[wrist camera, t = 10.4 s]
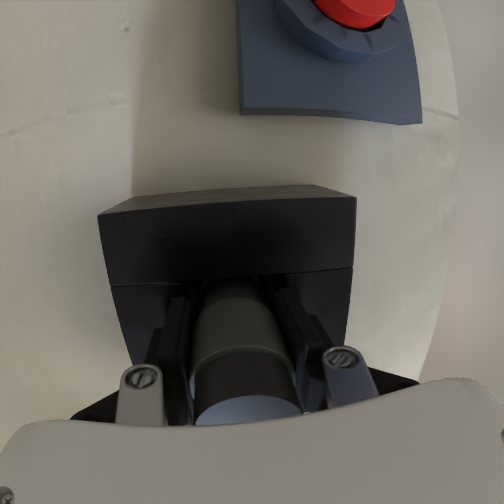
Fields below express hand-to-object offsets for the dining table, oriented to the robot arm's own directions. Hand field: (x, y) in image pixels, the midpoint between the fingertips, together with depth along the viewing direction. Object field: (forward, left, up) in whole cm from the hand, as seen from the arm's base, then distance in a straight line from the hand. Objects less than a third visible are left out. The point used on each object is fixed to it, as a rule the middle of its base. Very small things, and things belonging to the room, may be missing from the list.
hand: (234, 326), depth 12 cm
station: (-15, +6, -5) cm, 17 cm away
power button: (-15, +6, -2) cm, 16 cm away
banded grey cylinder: (0, 0, -4) cm, 4 cm away
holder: (0, 0, -5) cm, 5 cm away
